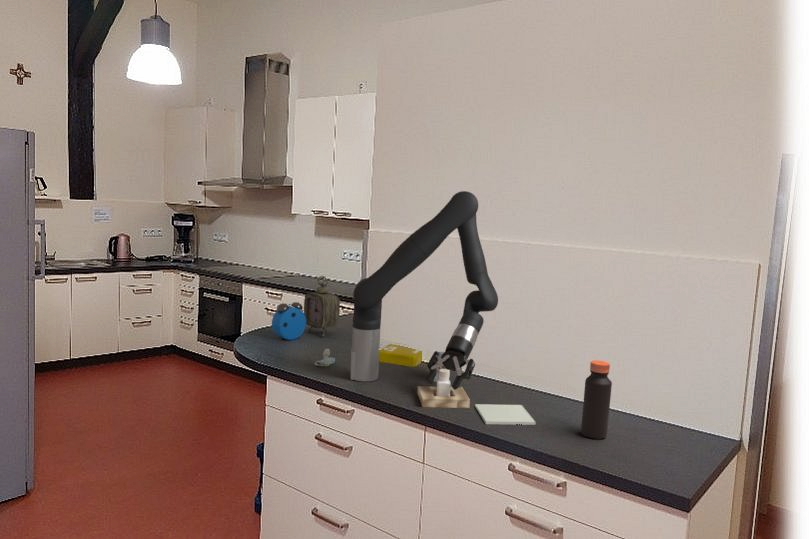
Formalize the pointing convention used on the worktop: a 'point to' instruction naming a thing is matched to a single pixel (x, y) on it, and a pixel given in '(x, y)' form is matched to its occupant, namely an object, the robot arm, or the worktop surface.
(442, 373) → the salt shaker
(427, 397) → the oak holder
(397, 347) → the element tile
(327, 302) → the tabletop clock
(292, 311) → the alarm clock
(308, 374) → the worktop surface
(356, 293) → the robot arm
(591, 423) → the bottle
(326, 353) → the pacifier
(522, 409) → the sage trivet
